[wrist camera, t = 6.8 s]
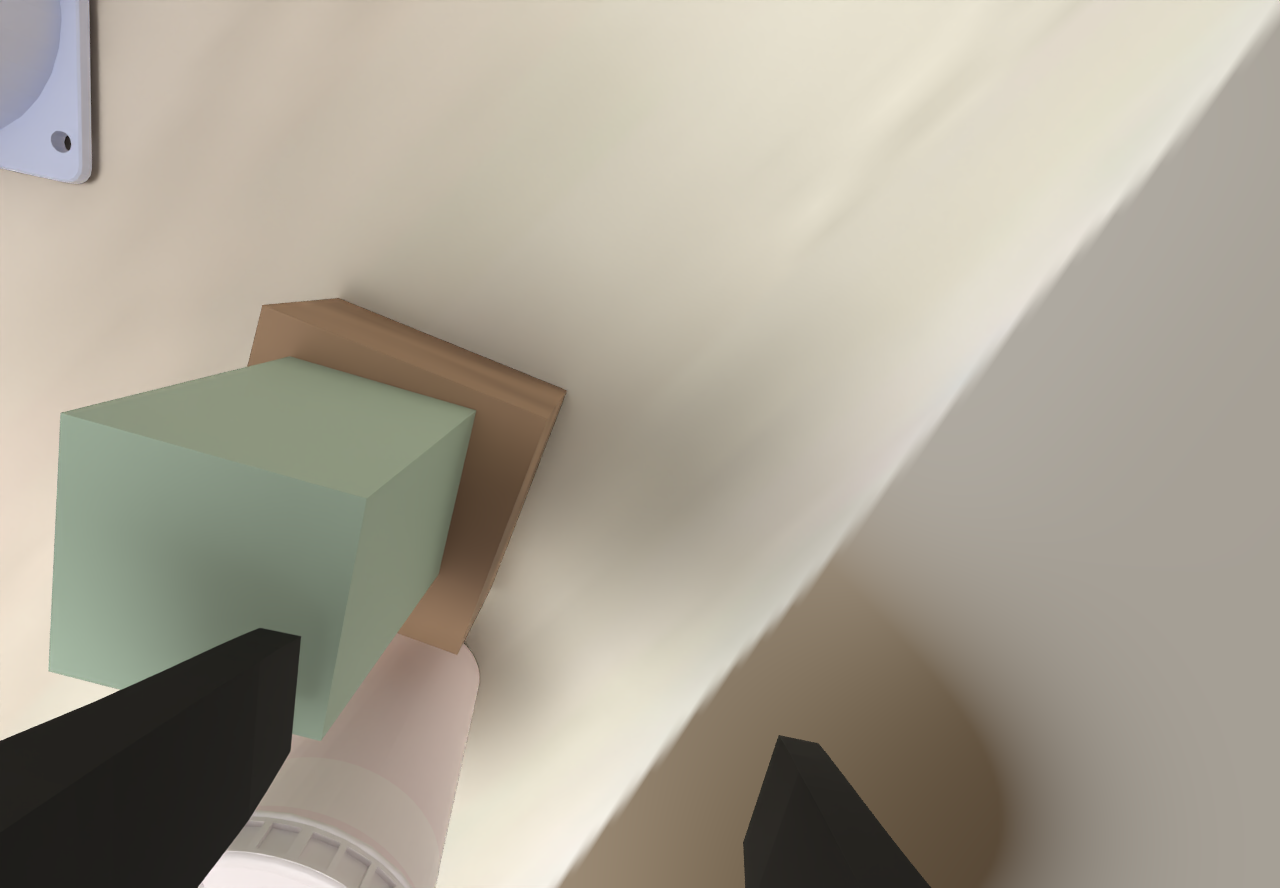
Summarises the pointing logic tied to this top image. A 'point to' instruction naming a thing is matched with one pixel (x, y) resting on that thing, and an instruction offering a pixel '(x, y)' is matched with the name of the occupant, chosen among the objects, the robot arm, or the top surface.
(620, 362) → the top surface
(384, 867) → the smoothie
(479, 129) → the top surface
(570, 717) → the top surface
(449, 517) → the sage block
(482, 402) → the walnut block
